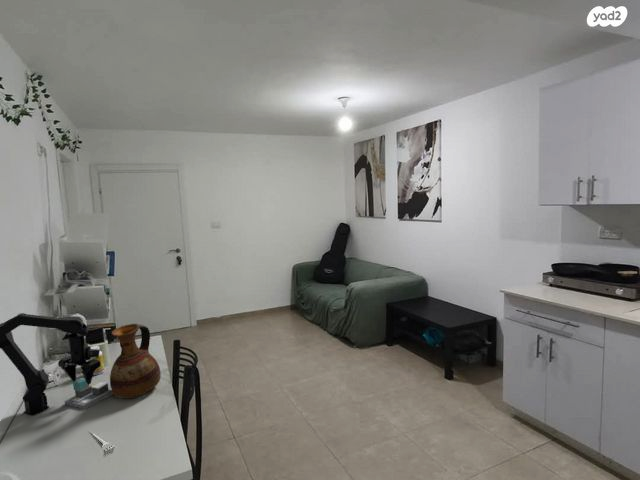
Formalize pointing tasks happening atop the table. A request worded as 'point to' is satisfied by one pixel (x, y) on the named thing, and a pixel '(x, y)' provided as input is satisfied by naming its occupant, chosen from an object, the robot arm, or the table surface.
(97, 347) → the supplement bottle
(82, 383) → the teal cube
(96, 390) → the block
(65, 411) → the table surface
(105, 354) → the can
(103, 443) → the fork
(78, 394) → the block
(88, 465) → the table surface
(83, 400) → the breaker panel
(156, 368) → the ceramic pitcher
